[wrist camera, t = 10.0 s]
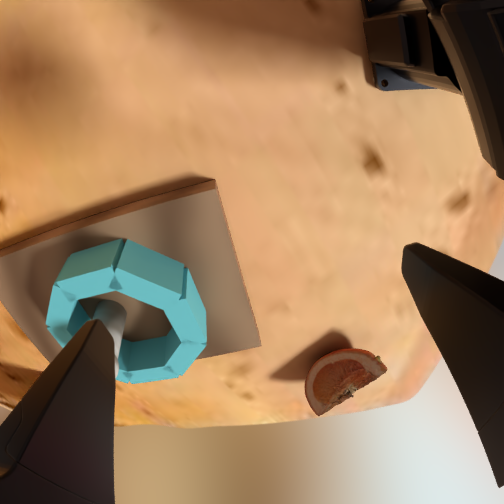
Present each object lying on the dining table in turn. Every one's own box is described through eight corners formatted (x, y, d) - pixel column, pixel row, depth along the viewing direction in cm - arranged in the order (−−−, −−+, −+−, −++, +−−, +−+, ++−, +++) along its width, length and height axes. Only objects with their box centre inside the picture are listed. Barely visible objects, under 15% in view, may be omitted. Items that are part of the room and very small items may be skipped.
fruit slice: (353, 321, 28) (372, 362, 24) (385, 345, 31) (403, 381, 27) (287, 369, 31) (297, 411, 27) (325, 386, 34) (336, 422, 30)
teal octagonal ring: (170, 224, 19) (165, 252, 16) (218, 339, 25) (220, 369, 22) (37, 265, 19) (20, 292, 16) (104, 359, 25) (98, 387, 22)
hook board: (215, 179, 19) (219, 251, 13) (258, 332, 27) (274, 412, 20) (-14, 256, 19) (-60, 322, 13) (66, 365, 27) (49, 431, 21)
